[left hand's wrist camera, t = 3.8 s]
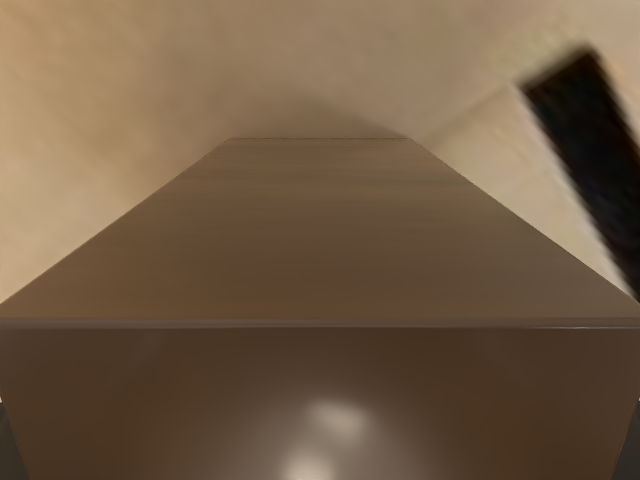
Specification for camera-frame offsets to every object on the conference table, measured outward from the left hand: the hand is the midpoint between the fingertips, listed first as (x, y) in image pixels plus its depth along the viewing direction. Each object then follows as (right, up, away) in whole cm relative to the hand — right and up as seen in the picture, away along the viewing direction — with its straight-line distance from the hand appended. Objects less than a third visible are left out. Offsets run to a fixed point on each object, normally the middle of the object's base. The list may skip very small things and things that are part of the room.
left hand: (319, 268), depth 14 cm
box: (0, -7, +5) cm, 8 cm away
